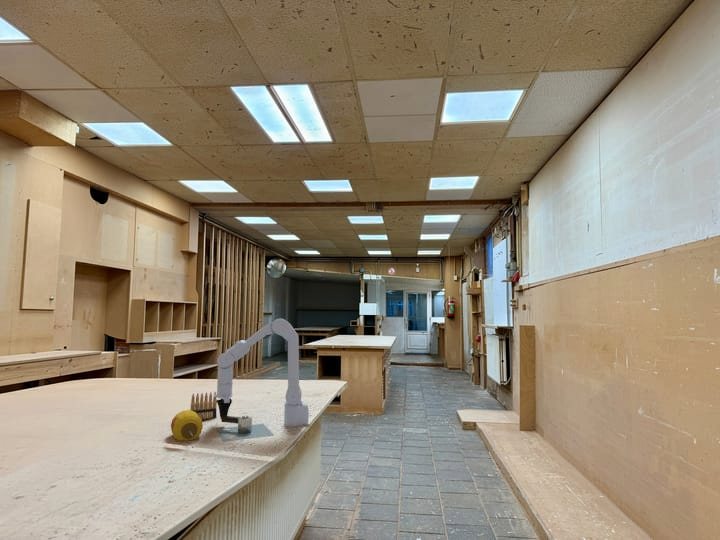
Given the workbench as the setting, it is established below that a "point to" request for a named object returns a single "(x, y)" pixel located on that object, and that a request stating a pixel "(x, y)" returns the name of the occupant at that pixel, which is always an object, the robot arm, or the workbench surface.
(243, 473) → the workbench surface
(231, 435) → the mounting plate
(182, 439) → the lantern
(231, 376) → the robot arm
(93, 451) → the workbench surface
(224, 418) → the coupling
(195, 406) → the ammunition clip
